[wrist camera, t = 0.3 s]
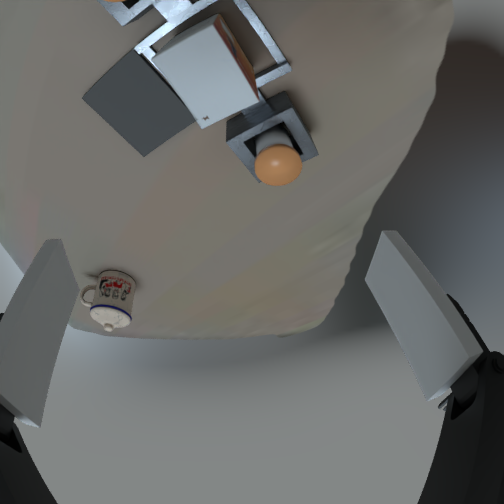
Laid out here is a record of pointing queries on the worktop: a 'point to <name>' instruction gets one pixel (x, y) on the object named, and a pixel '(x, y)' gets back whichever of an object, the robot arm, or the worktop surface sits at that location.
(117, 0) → the plunger
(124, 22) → the housing
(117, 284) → the teacup with lid
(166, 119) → the mat
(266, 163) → the plunger
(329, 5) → the worktop surface
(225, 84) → the small box
